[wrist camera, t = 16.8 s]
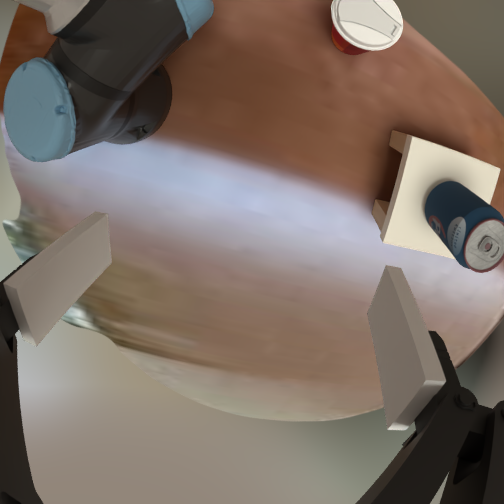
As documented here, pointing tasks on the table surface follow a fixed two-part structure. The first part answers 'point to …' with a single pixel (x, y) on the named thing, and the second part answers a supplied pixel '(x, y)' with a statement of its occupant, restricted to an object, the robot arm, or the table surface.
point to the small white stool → (426, 190)
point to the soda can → (466, 226)
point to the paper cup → (365, 25)
